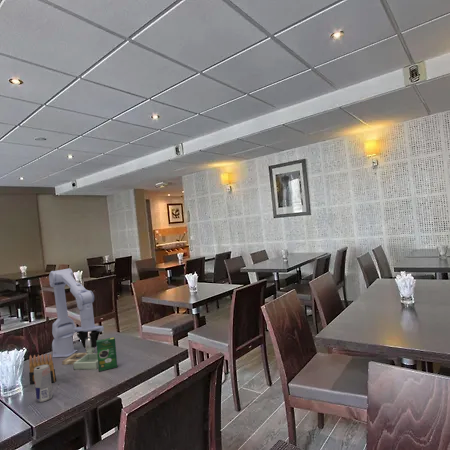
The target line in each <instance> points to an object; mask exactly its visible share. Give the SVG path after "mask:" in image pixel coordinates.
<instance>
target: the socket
mask: <svg viewBox="0 0 450 450" xmlns="http://www.w3.org/2000/svg"><path fill="white" fill-rule="evenodd" d="M86 354H87V353H86V352H75V353H73V354H72V355H70V356H69V357H66V358H65V359H64V360H62V361H61V363H62V364H61V365H73V363H75V362H76V361H78V360H79V359H80V358H76V357H81V358H82V357H83V356H85V355H86ZM89 354H92V353H89Z"/></svg>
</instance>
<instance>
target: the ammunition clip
mask: <svg viewBox="0 0 450 450" xmlns="http://www.w3.org/2000/svg"><path fill="white" fill-rule="evenodd" d="M52 356H53V355H52V354H51V353H49V355H48V354H47V353H46V354H45V355H44V354H43V353H42V354H41V357H40V354H37V357H36V354H34V355H33V357H32V355H31V354H30V355H29V358H28V361H29V367H28V368H29V375H28V377H29V385H32V386H33V385H35V380H34V368H35V367H37V366H40V365H44V364H48V365H49V367H50V374H51V384H55V382H57V376H56V369H55V367H54V362H53V357H52Z"/></svg>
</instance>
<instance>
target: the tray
mask: <svg viewBox="0 0 450 450" xmlns="http://www.w3.org/2000/svg"><path fill="white" fill-rule="evenodd" d="M78 359H79V360H78V361H76V362H75V363H73V364H72V365H73V370H74V371H84V370H85V371H86V370H88V371H89V370H97V369H99V368H98V356H97V353H95V352H93V353H92V354H86V355H85V356H83V357H81V358H78Z"/></svg>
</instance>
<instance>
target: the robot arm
mask: <svg viewBox="0 0 450 450" xmlns="http://www.w3.org/2000/svg"><path fill="white" fill-rule="evenodd" d="M48 280H49V285H50V288H52V289H53V293H54V301H55V309H56V317H57V318H56V320H54V322H53V323H52V328H51V329H52V330H51V331H52V332H51V333H52V336H53V340H52V343H51V350H52V355H51V356H52V358H68V357H70V356H71V355H73V354H74V353H77V352H78V349H75V346H74V339H73V336H75V335H74V334H75V333H77V334H76V336H77V338H78V339H79V340H80V342H81V344H82V347H83V349H86V347H85V338H87V337H88V335H89V337H91V340H92V347H93V348H95V349H96V348H97V343H96V341H97V340H99V336H100V333H101V332H103V331H105V329H104V325H96V323H95V316H94V306H93V303H94V301H95V294H94V292H93V291H92V290H88V289H86V288H85V286H84V285H83V284H82V283H80V282H77V280H76V279H75V278H74V272H73V270H72V268H69V267H68V268H64V269H57V270H51V271H50V272H49V275H48ZM66 286H68V287H69V291H70V293H71V294H72V296H73V297H74V298H75V302H76V305H77V309H78V310H79V317H80V318H79V319H80V326H77V327H76V324H75V321H74V319H73V318H71V317H69V312H68V307H67V305H68V304H67V297H66V290H65V287H66ZM76 351H77V352H76Z"/></svg>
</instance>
